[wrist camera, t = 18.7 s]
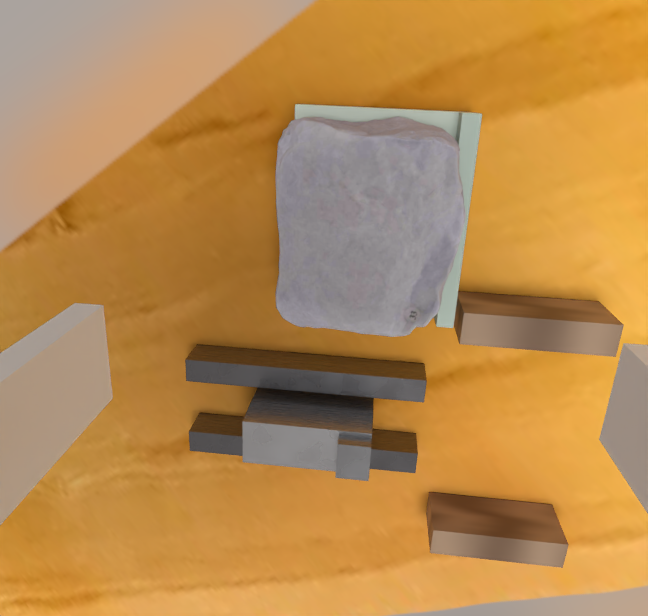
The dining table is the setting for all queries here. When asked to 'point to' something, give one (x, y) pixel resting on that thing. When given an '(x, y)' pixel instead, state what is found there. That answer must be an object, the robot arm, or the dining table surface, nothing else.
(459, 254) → the pale green ledge block
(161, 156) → the dining table surface
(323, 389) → the guide
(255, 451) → the grey metal block
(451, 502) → the brown piece
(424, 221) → the stone block
